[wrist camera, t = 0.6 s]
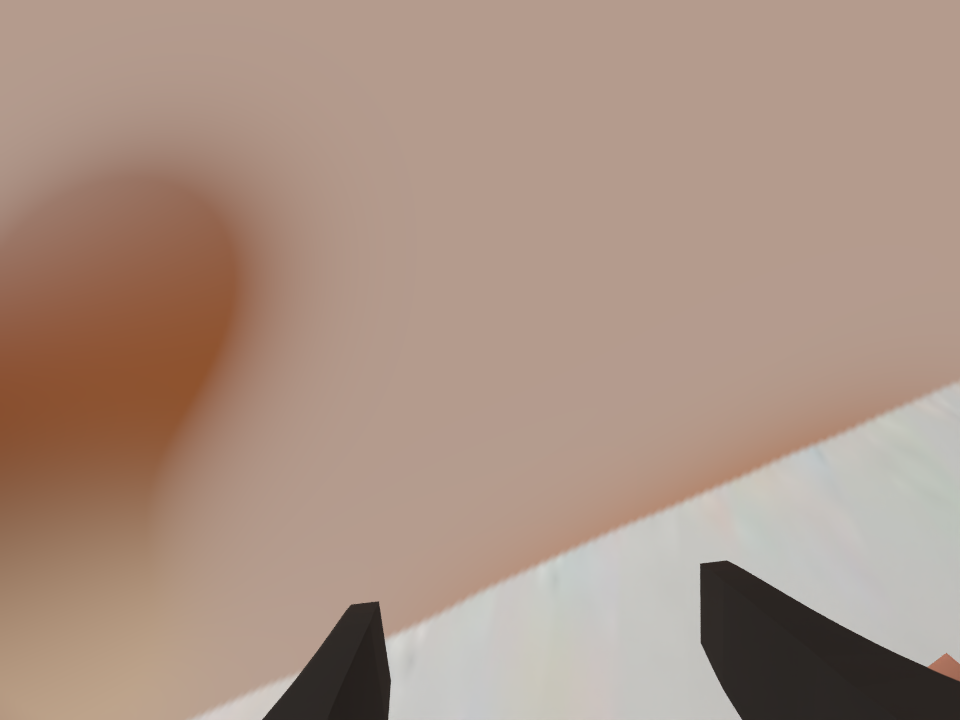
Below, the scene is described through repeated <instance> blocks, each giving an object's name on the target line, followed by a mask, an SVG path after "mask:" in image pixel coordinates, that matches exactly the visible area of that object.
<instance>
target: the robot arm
mask: <svg viewBox="0 0 960 720" xmlns="http://www.w3.org/2000/svg"><path fill="white" fill-rule="evenodd" d="M700 595H701V644H702V646H703V648H704V651H705V653H706V655H707V657H708V659H709V661H710V663H711V666H712V668H713V670H714V672H715V674H716V676H717V678H718V680H719V682H720V684H721V686H722V688H723V690H724V691H725V693H726V695H727V696H728V698H729V699H730V701H731V703H732V704H733V706H734V707H735V709H736V711H737V712H738V714H739V715H740V717H741V719H742V720H960V681H958V680H955V679H953V678H951V677H948V676H946V675H943V674H941V673H939V672H936V671H934V670H932V669H930V668H927V667H925V666H923V665H921V664H919V663H916V662H914V661H912V660H910V659H907V658H905V657H903V656H901V655H898V654H896V653H894V652H892V651H890V650H888V649H886V648H884V647H882V646H880V645H878V644H876V643H874V642H872V641H870V640H868V639H866V638H864V637H862V636H860V635H858V634H856V633H854V632H852V631H851V630H849V629H847V628H845V627H843V626H841V625H839V624H837V623H835V622H834V621H832V620H830V619H828V618H826V617H825V616H823V615H821V614H819V613H817V612H816V611H814V610H812V609H810V608H809V607H807V606H805V605H803V604H802V603H800V602H798V601H796V600H795V599H793V598H791V597H790V596H788V595H786V594H784V593H783V592H781V591H779V590H778V589H776V588H774V587H773V586H771V585H769V584H768V583H766V582H764V581H762V580H761V579H759V578H757V577H756V576H754V575H752V574H751V573H749V572H747V571H745V570H744V569H742V568H740V567H738V566H737V565H735V564H733V563H731V562H729V561H719V562H710V563H702V564H700ZM390 685H391V679H390V672H389V666H388V659H387V652H386V646H385V639H384V633H383V626H382V620H381V613H380V607H379V602H371V603H362V604H354V605H351V606H350V607H349V608H348V609H347V610H346V612H345V613H344V614H343V616H342V617H341V619H340V620H339V622H338V623H337V624H336V626H335V627H334V629H333V630H332V631H331V633H330V634H329V636H328V637H327V638H326V640H325V641H324V643H323V644H322V646H321V647H320V648H319V649H318V651H317V652H316V654H315V655H314V656H313V657H312V659H311V660H310V661H309V663H308V664H307V665H306V667H305V668H304V669H303V671H302V672H301V673H300V675H299V676H298V677H297V678H296V680H295V681H294V682H293V683H292V685H291V686H290V687H289V688H288V690H287V691H286V692H285V693H284V694H283V696H282V697H281V698H280V699H279V700H278V702H277V703H276V704H275V705H274V706H273V707H272V709H271V710H270V711H269V712H268V713H267V715H266V716H265V717H264V718H263V719H262V720H388V714H389V700H390Z"/></svg>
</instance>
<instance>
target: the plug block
mask: <svg viewBox="0 0 960 720" xmlns="http://www.w3.org/2000/svg"><path fill="white" fill-rule="evenodd" d="M927 668H930V669H932V670H934V671H936V672H939V673H941V674H943V675H946V676H948V677H951V678H953V679H955V680H958V681H960V664H959V663H958V662H957V661H955V660H954V659H953V658H952V657H951V656H949V655H948V654H947V653H946V654H944V655H943V656H942V657H940V658H939V659H938V660H936V661H935V662H934V663H933V664H931V665H930V666H929V667H927Z"/></svg>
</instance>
